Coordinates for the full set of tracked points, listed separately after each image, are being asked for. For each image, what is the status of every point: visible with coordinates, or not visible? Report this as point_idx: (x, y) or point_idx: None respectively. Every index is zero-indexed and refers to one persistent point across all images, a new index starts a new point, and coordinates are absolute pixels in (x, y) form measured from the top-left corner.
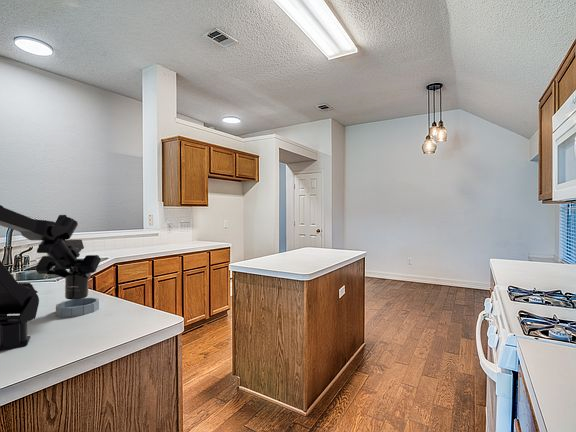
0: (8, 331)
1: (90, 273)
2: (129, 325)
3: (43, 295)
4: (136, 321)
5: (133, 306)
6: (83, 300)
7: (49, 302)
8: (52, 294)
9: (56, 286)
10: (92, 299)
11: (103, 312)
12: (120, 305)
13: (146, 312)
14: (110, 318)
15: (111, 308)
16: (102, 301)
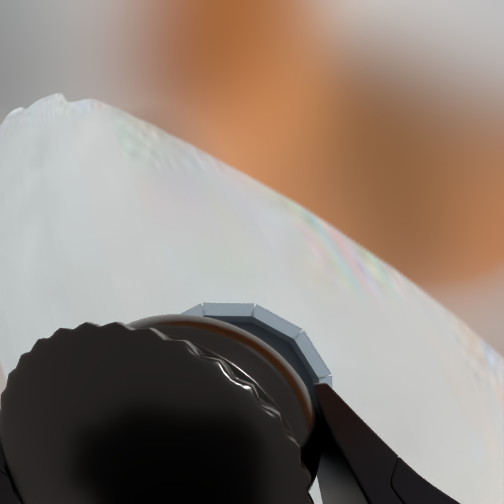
0: None
1: (356, 419)
2: (484, 496)
3: (34, 175)
4: (494, 467)
5: (443, 331)
6: (208, 317)
7: (57, 247)
8: (51, 164)
9: (55, 110)
10: (262, 323)
11: (368, 421)
12: (388, 318)
13: (500, 391)
14: (425, 475)
15: (374, 364)
16: (264, 249)
